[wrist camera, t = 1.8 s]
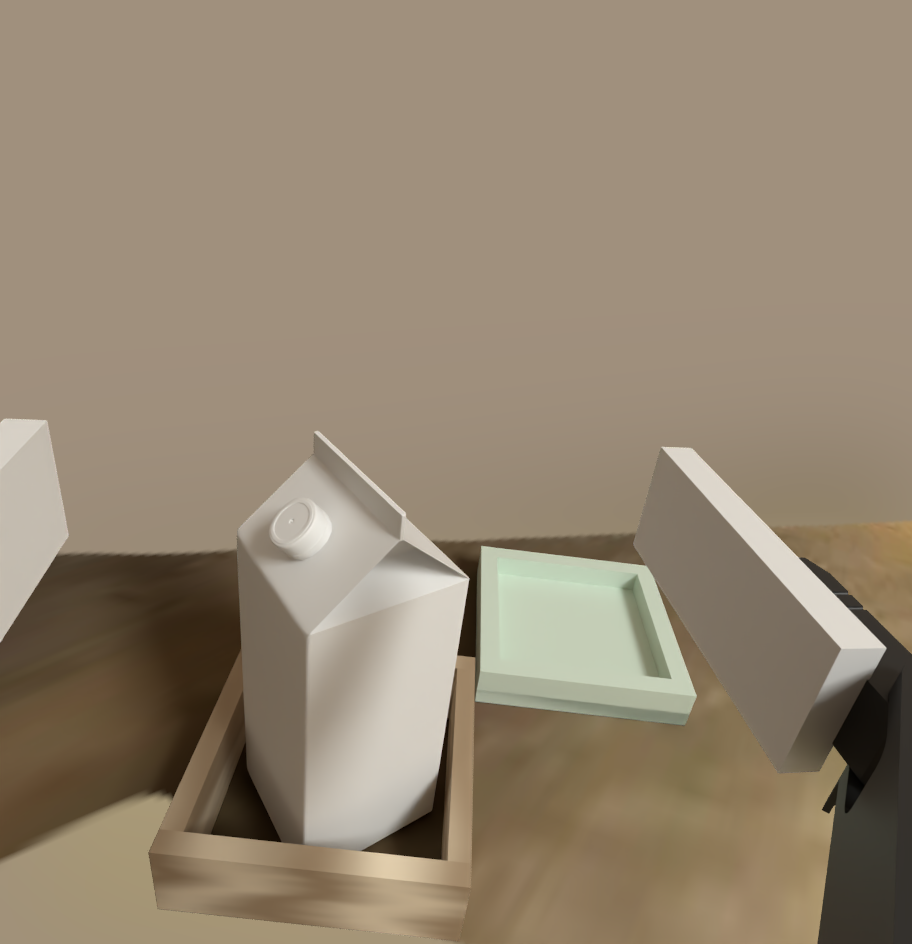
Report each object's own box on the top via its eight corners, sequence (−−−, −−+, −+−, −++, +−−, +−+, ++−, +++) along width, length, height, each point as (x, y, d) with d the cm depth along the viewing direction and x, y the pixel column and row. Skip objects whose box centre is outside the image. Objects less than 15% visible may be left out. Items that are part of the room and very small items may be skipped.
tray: (474, 701, 41) (480, 671, 40) (477, 572, 52) (481, 545, 51) (684, 725, 41) (696, 696, 40) (641, 592, 53) (649, 566, 52)
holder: (157, 909, 29) (148, 852, 27) (251, 682, 40) (249, 631, 38) (459, 941, 29) (471, 887, 27) (466, 706, 40) (475, 657, 39)
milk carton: (365, 716, 39) (389, 418, 30) (433, 813, 34) (485, 493, 25) (245, 769, 35) (230, 445, 26) (302, 888, 30) (308, 540, 21)
